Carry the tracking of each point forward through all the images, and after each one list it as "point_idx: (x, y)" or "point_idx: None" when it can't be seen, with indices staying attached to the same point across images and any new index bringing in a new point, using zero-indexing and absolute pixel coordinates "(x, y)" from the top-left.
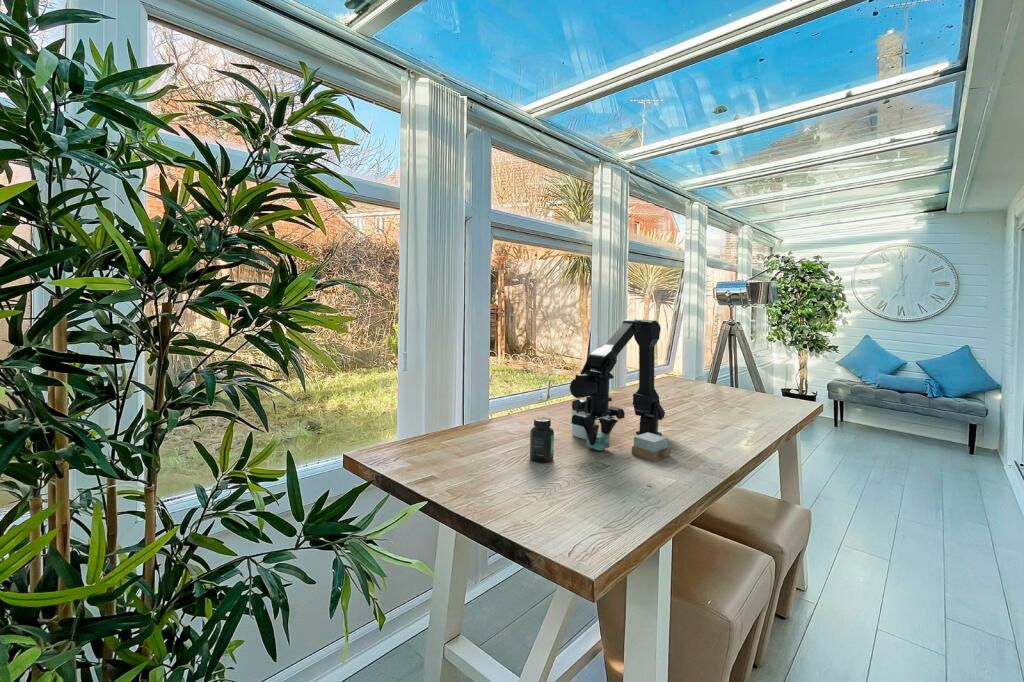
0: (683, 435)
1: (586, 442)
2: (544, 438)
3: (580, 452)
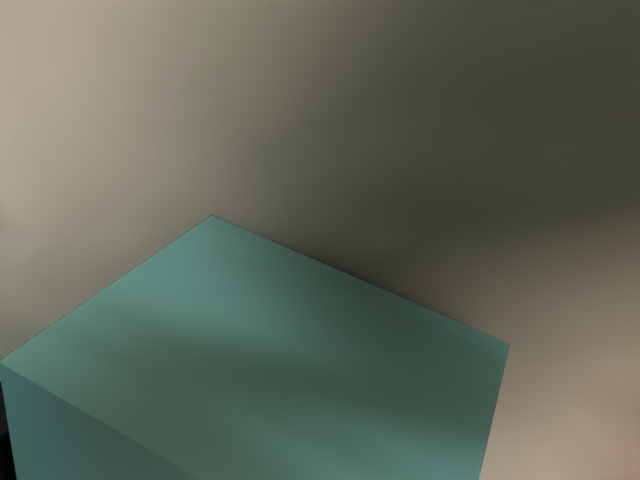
0: None
1: (163, 251)
2: None
3: (79, 174)
